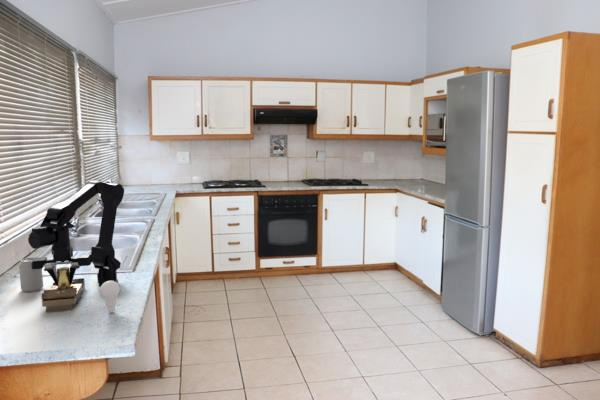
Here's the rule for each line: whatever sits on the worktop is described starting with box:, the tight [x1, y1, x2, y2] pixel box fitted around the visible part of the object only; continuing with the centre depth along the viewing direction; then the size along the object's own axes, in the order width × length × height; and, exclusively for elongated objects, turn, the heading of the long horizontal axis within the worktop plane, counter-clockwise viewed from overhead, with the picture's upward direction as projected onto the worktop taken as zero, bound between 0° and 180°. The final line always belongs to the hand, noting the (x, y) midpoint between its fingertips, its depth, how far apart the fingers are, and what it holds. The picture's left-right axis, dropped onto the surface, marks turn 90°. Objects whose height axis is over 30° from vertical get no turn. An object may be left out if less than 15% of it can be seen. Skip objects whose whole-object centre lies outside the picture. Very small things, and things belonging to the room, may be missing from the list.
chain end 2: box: [52, 277, 86, 305], centre depth 180 cm, size 10×16×4 cm, turn 15°
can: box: [18, 256, 44, 293], centre depth 187 cm, size 8×8×12 cm
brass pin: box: [56, 266, 71, 289], centre depth 177 cm, size 4×4×10 cm
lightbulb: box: [99, 281, 121, 314], centre depth 165 cm, size 6×6×11 cm
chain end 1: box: [40, 284, 82, 313], centre depth 174 cm, size 10×16×6 cm, turn 15°
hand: (64, 285), depth 177 cm, fingers closed on brass pin, 4 cm apart
